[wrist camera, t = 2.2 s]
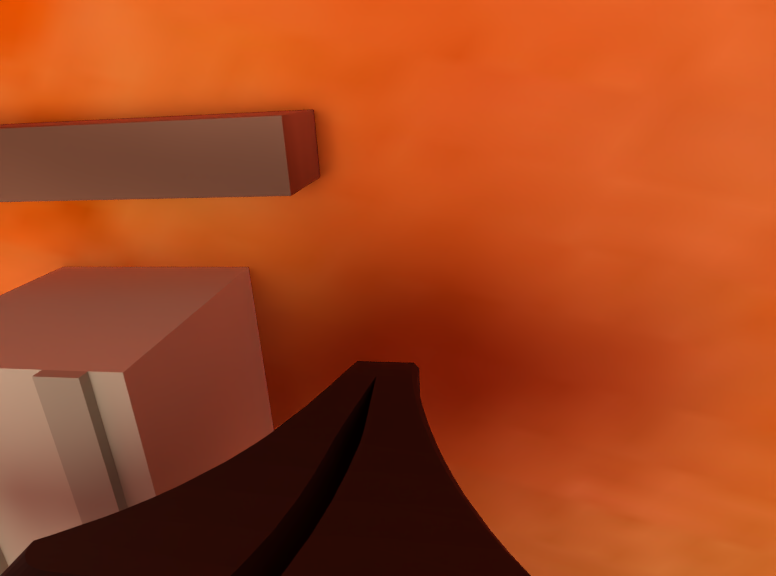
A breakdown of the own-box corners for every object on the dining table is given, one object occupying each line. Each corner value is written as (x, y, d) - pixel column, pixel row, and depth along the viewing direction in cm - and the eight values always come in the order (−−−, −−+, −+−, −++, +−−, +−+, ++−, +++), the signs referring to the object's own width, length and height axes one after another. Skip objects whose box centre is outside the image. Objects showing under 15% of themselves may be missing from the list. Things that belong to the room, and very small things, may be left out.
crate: (276, 437, 14) (179, 614, 10) (112, 428, 15) (-53, 588, 10) (249, 266, 13) (114, 379, 8) (64, 265, 13) (-162, 368, 9)
